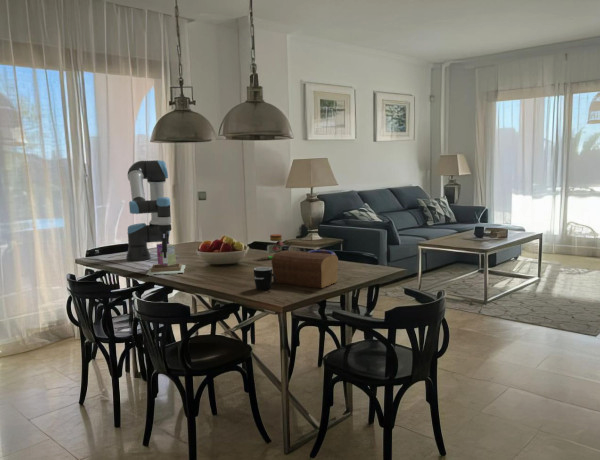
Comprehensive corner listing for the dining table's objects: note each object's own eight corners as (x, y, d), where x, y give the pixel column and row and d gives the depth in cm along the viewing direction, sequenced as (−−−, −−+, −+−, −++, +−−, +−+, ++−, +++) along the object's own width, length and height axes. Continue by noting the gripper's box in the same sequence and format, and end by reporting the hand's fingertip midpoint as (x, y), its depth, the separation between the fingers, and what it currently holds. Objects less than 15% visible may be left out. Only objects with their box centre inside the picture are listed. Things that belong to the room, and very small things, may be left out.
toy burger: (290, 257, 339) (289, 234, 337) (273, 260, 332) (272, 236, 330) (280, 255, 348) (279, 233, 347) (264, 257, 341) (263, 234, 340)
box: (157, 264, 305) (156, 244, 303) (165, 262, 309) (164, 242, 307) (167, 266, 298) (166, 245, 296) (175, 264, 302) (174, 244, 300)
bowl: (312, 273, 290) (312, 255, 288) (300, 267, 306) (299, 250, 305) (341, 270, 297) (341, 252, 295) (327, 264, 313) (327, 248, 312)
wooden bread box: (290, 276, 283) (290, 247, 281) (339, 282, 267) (338, 251, 265) (271, 283, 268) (270, 252, 266) (321, 289, 252) (320, 257, 250)
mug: (250, 289, 254) (249, 269, 253) (261, 286, 261) (261, 266, 260) (270, 292, 247) (269, 271, 246) (281, 288, 255) (280, 268, 253)
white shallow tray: (151, 268, 313) (151, 263, 312) (185, 266, 316) (185, 261, 316) (146, 275, 291) (146, 270, 291) (183, 273, 294) (183, 268, 294)
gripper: (159, 222, 311) (161, 258, 314) (155, 226, 288) (157, 265, 291) (172, 221, 312) (174, 257, 315) (169, 226, 289) (171, 264, 292)
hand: (166, 261), depth 303 cm, fingers closed on box, 11 cm apart
